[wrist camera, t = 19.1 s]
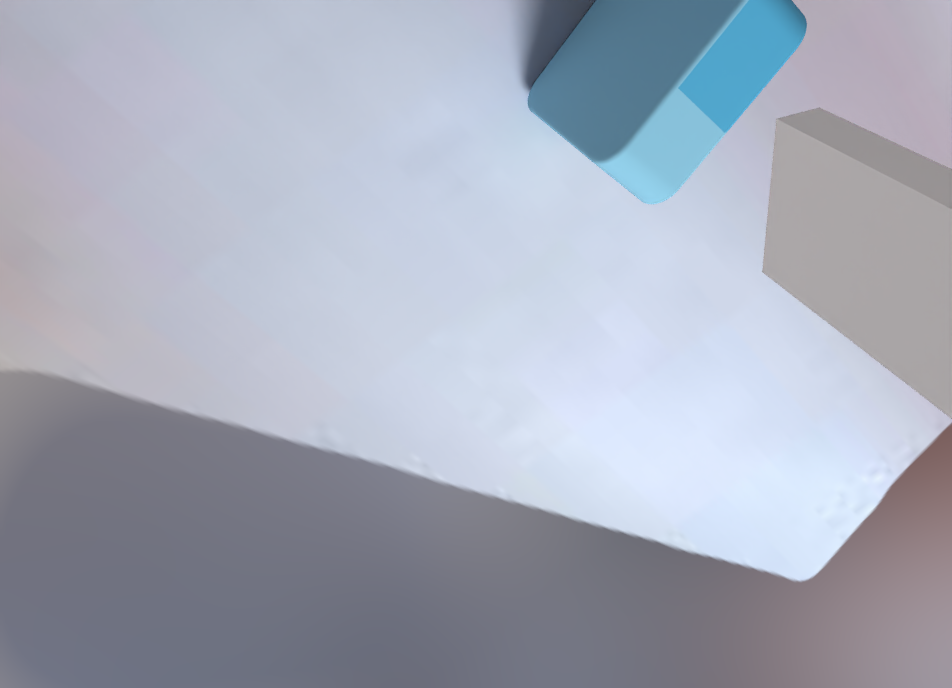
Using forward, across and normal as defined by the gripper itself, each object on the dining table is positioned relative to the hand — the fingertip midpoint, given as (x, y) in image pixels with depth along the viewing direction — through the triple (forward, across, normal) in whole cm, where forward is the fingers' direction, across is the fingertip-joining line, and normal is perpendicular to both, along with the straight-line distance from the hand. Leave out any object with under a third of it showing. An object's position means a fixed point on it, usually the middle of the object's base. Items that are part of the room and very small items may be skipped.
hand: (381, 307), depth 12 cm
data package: (+37, +21, -9) cm, 43 cm away
